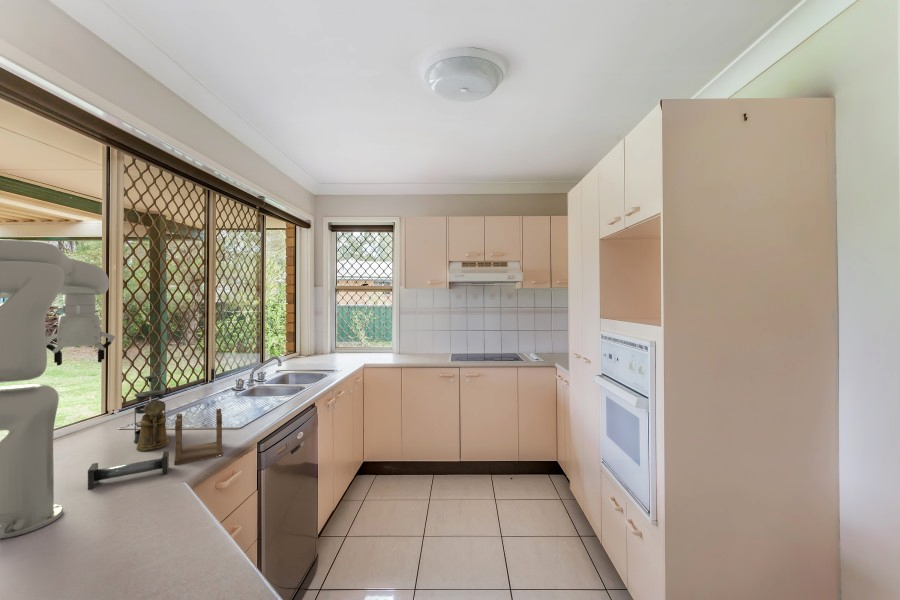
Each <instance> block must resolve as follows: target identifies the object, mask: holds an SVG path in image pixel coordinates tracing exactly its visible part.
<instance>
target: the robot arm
mask: <svg viewBox="0 0 900 600" xmlns="http://www.w3.org/2000/svg"><path fill="white" fill-rule="evenodd" d="M109 288H110V279H109V276H108V275H107V273H106V272H105V270H104V269H103V268H102V267H100V266H99V265H96V264H92V263H89V262H87V261H86V262H84V261H81V260H78V259H74V258H70V257H68V256H67V254H65V253H64V252H63V251H62V250H61V249H60V248H59V247H57V246H56V245H55V244H52V243H50V242H45V241H41V240H28V239H27V240H24V239H23V240H22V239H7V238H5V239H3V238H0V299H6V300H5V301H3V302H1V304H0V384H3V383H4V384H5V383H15V382H24V381H31V380H34V379H37V378H39V377H41V376H42V375H43V374H44V373H45V371H46V370H47V369H46V368H47V364H48V354H47V353H48V352H47V349H48V350H49V351H51V352H52V353H53V356H54V357H53V362H54V364H55V363H56V366H61V365H62V364H63V352H62V351H61V350H63V348H64V347H81V346H82V347H83V346H96V347H97V348H98V350H97V363H102V361H103V360H105V350H106V349H107V348H108V347H109V346H110V345H111V344H112V343H113V342H114V340H115V338H116V335H114V334H111V333H107V332H104V331H102V328H101V322H100V321H101V320H100V317H99V314H96V296H100V295H104V294H106V293H107V291H108V290H109ZM57 296H63V305H62V306H60V307H56V311H57V312H61V313H62V314H61V315H59V318H58V323H57V324H58V325H57V332H56V333H54V334H51V335H50V336H47V335H46V334H47V333H46V317H47V315H48V312H49V310H50V308H51V306H52V305H53V303H54V302H55V300H56V298H57ZM46 336H47V337H46ZM102 337H105V338H107V341H106V342H105V343H102V342H101V341H102ZM55 339H56V344H57V346H55V345H53V344H52V343H51V341H53V340H55ZM59 401H60V399H59V394H58V391H57V390H56V389H55V388H54V387H52V386H50V385H46V384H19V385H7V386H0V431H2V432H3V431H8V434H6V436H5V437H3V438H2V439H1V440H0V540H2V538H3V539H8V538H13V537H17V536H21V535H24V534H28V533H29V532H30V533H31V532H33V531H36V530H39V529H41V528H43V527H45V526H48V525H49V524H51V523H53V522H55V521H56V520H57V519H59V518H60V517H61V516H62V515H63V513H64V508H63V506H62V505H61V504H58V503H57V504H56V503H54V502H55V501H54V498H55V496H54V495H55V490H54V487H55V483H54V482H55V481H54V477H55V476H54V475H55V474H54V469H55V468H54V465H55V464H54V434H55V433H54V432H55V423H56V422H55V421H56V417H57V412H58V406H59V403H60V402H59Z"/></svg>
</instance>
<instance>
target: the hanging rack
mask: <svg viewBox="0 0 900 600" xmlns="http://www.w3.org/2000/svg"><path fill="white" fill-rule="evenodd" d="M215 412H216V413H215V415H216V416H215V417H216V422H215V423H216V426H215V429H216V438H215V439H216V441H213V442H212V441H211V442H206V443H201V444H195V445H189V446H183V413H177V414H176V419H175V423H174V424H175V425H174V427H175V428H174V429H175V430H174V431H175V433H174V435H175V436H174V438H175V439H174V443H175V444H174V445H175V446H174V447H175V449H174V451H175V455H174V461H173V463H174V466H175V465H176V466H177V465H181V464H185V463H192V462H191V461H193V462H197V461H196V460H198V461H201V459H203V460H208V458H209V459H213V458H212V457H214V458H217V457H216V456H219V455H224V451H223V413H222V408H216V410H215ZM219 457H220V456H219Z"/></svg>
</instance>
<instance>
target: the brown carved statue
mask: <svg viewBox="0 0 900 600" xmlns="http://www.w3.org/2000/svg"><path fill="white" fill-rule="evenodd" d="M144 405H145V406H144V408H143V409H142V410H143V411H144V413H145V414H142V417H141V419H140V421H141V427H140V429H141V430H140V429H139V430H140V436H139V441H138V444H136V451H138V452H150V451H155V450H161V449H163V448H165V447H167V446H168V445H169V444H170V442H169V438H168V434H167V427H166V422H167V420H166V415H165V416H164V410H165V411H166V407H167V406H166V402H164V401H162V400H159V399H154V400H151V402H150V401H149V402H147V403H146V404H144Z"/></svg>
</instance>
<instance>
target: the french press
mask: <svg viewBox="0 0 900 600" xmlns="http://www.w3.org/2000/svg"><path fill="white" fill-rule="evenodd" d="M157 378H158V375H148V376H144V377H142V379H143V380H148V383H149V390H148V391H141V392H138V393H136V394H134V397H135V402H138V403H140V402H143V401H144V400H145V399H148V398H149V402H151V401H152V397H156V398H157V399H160V400H161V399H164V398H165V393H166V391H165V390H164V389H163V390H161V389H159V390H158V389H157V390H155V389H154V390H152V387H151V386H152V384H151V383H152V380H153V379H157ZM145 405H146V404H141V405H138V406H136V407H134V439H133V440H134V441H133V443H134V444H136V445H137V444H138V441H139V436H140V430H141V420H139V421H138V422H137V421H136V417H137V414H139V415H145V414H146V413H144V411H143V408H144V406H145ZM163 413H164V416H165V417H166V409H165V410H164V411H163ZM137 427H139V428H140V429H137Z"/></svg>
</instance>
